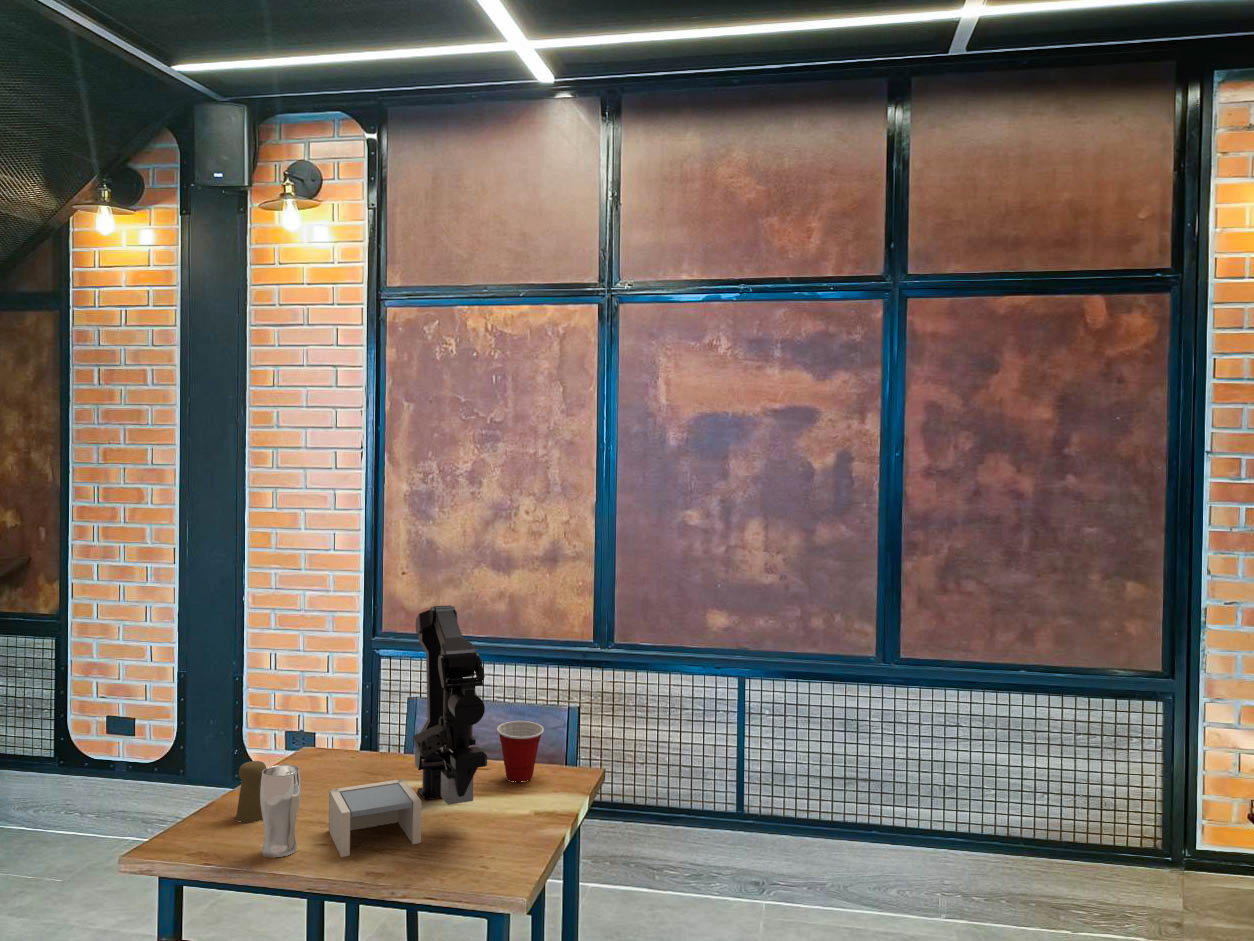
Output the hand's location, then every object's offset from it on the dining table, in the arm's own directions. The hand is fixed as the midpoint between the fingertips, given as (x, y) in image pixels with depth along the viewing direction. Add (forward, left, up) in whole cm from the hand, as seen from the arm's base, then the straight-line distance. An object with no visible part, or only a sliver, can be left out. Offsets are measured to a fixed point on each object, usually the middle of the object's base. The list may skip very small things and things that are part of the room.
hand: (456, 791), depth 176 cm
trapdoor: (-3, -15, -1) cm, 15 cm away
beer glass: (-5, -32, -8) cm, 33 cm away
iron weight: (0, 0, -1) cm, 1 cm away
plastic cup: (-23, +22, -8) cm, 33 cm away
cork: (-25, -35, -8) cm, 44 cm away
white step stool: (-4, -15, -8) cm, 17 cm away
